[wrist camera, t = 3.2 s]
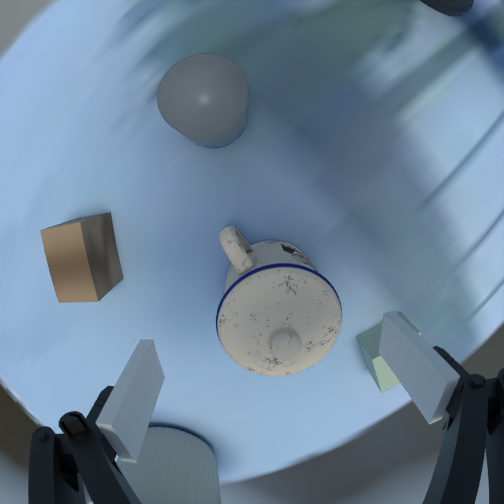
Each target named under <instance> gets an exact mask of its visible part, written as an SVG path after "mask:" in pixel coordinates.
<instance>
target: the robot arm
mask: <svg viewBox="0 0 504 504" xmlns="http://www.w3.org/2000/svg"><path fill="white" fill-rule="evenodd" d="M422 1H423V2H425V3H426V4H428V5H429V6H431V7H433V8H434V9H436V10H438V11H440V12H442V13H445V14H448V15H451V16H460V15H462V14H464V13H465V12H467V11H469V10H470V9H471V7H472V5H473V1H474V0H422ZM379 354H380V355H381V356H382V358H383V359H384V360H385V362H386V363H387V365H388V366H389V367H390V369H391V370H392V371H393V373H394V374H395V376H396V377H397V378H398V380H399V381H400V383H401V384H402V385H403V387H404V388H405V390H406V391H407V393H408V394H409V395H410V397H411V398H412V400H413V401H414V403H415V404H416V406H417V407H418V408H419V410H420V411H421V413H422V414H423V416H424V417H425V419H426V420H427V422H428V423H429V424H431V423H434V422H436V421H438V420H440V419H442V417H443V415H444V413H445V411H447V412H448V414H449V416H448V418H447V420H446V422H445V424H444V426H443V428H442V429H443V430H444V428H445V432H444V436H443V441H442V445H441V449H440V453H439V456H438V460H437V463H436V466H435V470H434V473H433V476H432V479H431V482H430V485H429V488H428V491H427V493H426V497H425V499H424V501H423V504H475V500H476V496H477V492H478V487H479V483H480V478H481V472H482V466H483V460H484V453H485V449H486V456H487V466H488V478H489V504H504V368H503V369H501V370H500V371H499V373H498V376H497V378H492V379H487V380H486V379H485V378H484V377H483V376H481V375H478V374H472V375H470V374H468V372H466V371H465V369H464V368H462V366H461V365H460V364H459V363H458V362H456V361H454V359H453V358H452V357H451V356H450V355H449V354H448V353H447V352H446V351H445V350H444V349H442V348H440V347H438V346H435V347H431V346H430V345H429V344H428V343H427V342H426V341H425V340H424V339H423V338H422V337H421V336H420V335H419V334H418V333H417V332H416V331H415V330H414V329H413V328H412V327H411V326H410V325H409V324H408V323H407V322H406V321H404V320H403V319H402V318H401V317H400V316H399V315H398V314H397V313H396V312H395V311H393V312H388V313H383V322H382V331H381V338H380V345H379ZM164 378H165V377H164V374H163V371H162V368H161V365H160V362H159V359H158V355H157V352H156V349H155V346H154V342H153V340H140V342H139V343H138V345H137V347H136V349H135V350H134V352H133V354H132V356H131V357H130V359H129V361H128V363H127V365H126V366H125V368H124V370H123V372H122V374H121V375H120V377H119V379H118V381H117V383H116V385H115V386H107V387H106V388H105V389H104V390H103V391H101V393H100V394H99V396H98V398H97V400H96V402H95V403H94V406H93V407H92V409H91V410H90V412H89V414H88V416H87V418H86V419H85V417H84V416H83V414H82V413H80V412H76V411H72V412H68V413H66V414H64V415H63V416H62V417H61V418H60V420H59V427H60V429H61V430H62V431H63V433H64V434H55V433H54V431H53V430H52V429H51V428H50V427H46V426H43V427H39V428H38V429H36V430H35V432H34V433H33V435H32V440H31V449H30V461H29V485H28V490H29V492H28V494H29V504H86V501H85V494H84V488H83V482H84V484H85V486H86V489H87V491H88V493H89V495H90V497H91V500H92V502H93V504H142V503H141V502H140V500H139V499H138V497H137V496H136V494H135V493H134V491H133V490H132V488H131V486H130V485H129V483H128V482H127V480H126V478H125V477H124V475H123V473H122V471H121V470H120V468H119V466H118V464H117V463H116V461H115V460H114V459H115V457H116V454H117V455H118V456H119V458H120V459H121V460H122V461H127V462H133V463H137V460H138V457H139V453H140V450H141V447H142V444H143V441H144V437H145V434H146V431H147V428H148V425H149V422H150V419H151V416H152V413H153V410H154V407H155V404H156V401H157V398H158V395H159V392H160V389H161V386H162V383H163V381H164ZM82 479H83V480H82Z"/></svg>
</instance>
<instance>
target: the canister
mask: <svg viewBox="0 0 504 504" xmlns="http://www.w3.org/2000/svg"><path fill="white" fill-rule="evenodd" d="M116 463H117V464H118V466H119V468H120V470H121V471H122V473H123V475H124V477H125V478H126V480H127V482H128V483H129V485H130V486H131V488H132V490H133V491H134V493H135V494H136V496H137V497H138V499H139V500H140V502H141V503H142V504H221V496H220V486H219V476H218V467H217V461H216V458H215V455H214V453H213V451H212V450H211V448H210V447H209V446H208V445H207V444H206V443H205V442H203V441H202V440H201V439H199V438H197V437H196V436H194V435H192V434H190V433H187V432H185V431H181V430H179V429H174V428H168V427H161V426H159V427H148V428H147V431H146V434H145V437H144V441H143V444H142V447H141V450H140V453H139V457H138V460H137V463H133V462H127V461H122V460H121V459H120V458H118V460H117V461H116ZM89 504H93V502H92V501H90V502H89Z"/></svg>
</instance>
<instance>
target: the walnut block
mask: <svg viewBox="0 0 504 504" xmlns="http://www.w3.org/2000/svg"><path fill="white" fill-rule="evenodd" d="M41 236H42V241H43V245H44V250H45V255H46V259H47V263H48V267H49V271H50V275H51V278H52V282H53V286H54V289H55V292H56V296H57V299H58V302H59V303H65V302H97V301H100V300H101V299H102V298H103V297H104V296H105V295H106V294H107V293H108V292H109V291H110V290H111V289H112V288H113V287H115V286H116V285H117V284H118V283H119V282H120V281H121V280H122V279H123V274H122V270H121V265H120V261H119V256H118V251H117V246H116V241H115V235H114V230H113V224H112V218H111V212H110V213H104V214H99V215H94V216H89V217H84V218H79V219H74V220H71V221H67V222H64V223H61V224H58V225H55V226H52V227H49V228H46V229H43V230H41Z"/></svg>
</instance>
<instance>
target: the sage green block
mask: <svg viewBox="0 0 504 504" xmlns="http://www.w3.org/2000/svg"><path fill="white" fill-rule="evenodd" d="M397 314H398V315H399V316H400V317H401V318H402V319H403V320H404V321H406V322H407V323H408V324H409V325H410V326H411V327H412V328H413V329H414V330H415V331H416V332H417V333H418V334H419V335H420V336H421V333H420V331H419V330H418V329H417V328H416V327H415V326H414V325H413V324H412V323H411V322H410V321H409V320H408V319H407V318H406V317H405V316H404V315H403V314H402V313H400V312H399V313H397ZM381 331H382V323H380V324H378V325H376V326H374V327H373V328H371V329H369V330H367V331H365V332H363V333H361V334H359V335H357V339H358V342H359V345H360V347H361V350H362V353H363V356H364V359H365V363H366V366H367V369H368V371H369V372H370V374H371V376H372V377H373V379H374V381H375V383H376V384H377V386H378V388H379V389H380V391H381V393H382V392H384V391H386V390H388V389H390V388H392V387H393V386H395V385H397V384H399V383H400V381H399V380H398V378H397V377H396V376H395V374H394V373H393V371H392V370H391V369H390V367H389V366H388V365H387V363H386V362H385V360H384V359H383V358H382V356H381V355H380V354H379V345H380V338H381Z"/></svg>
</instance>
